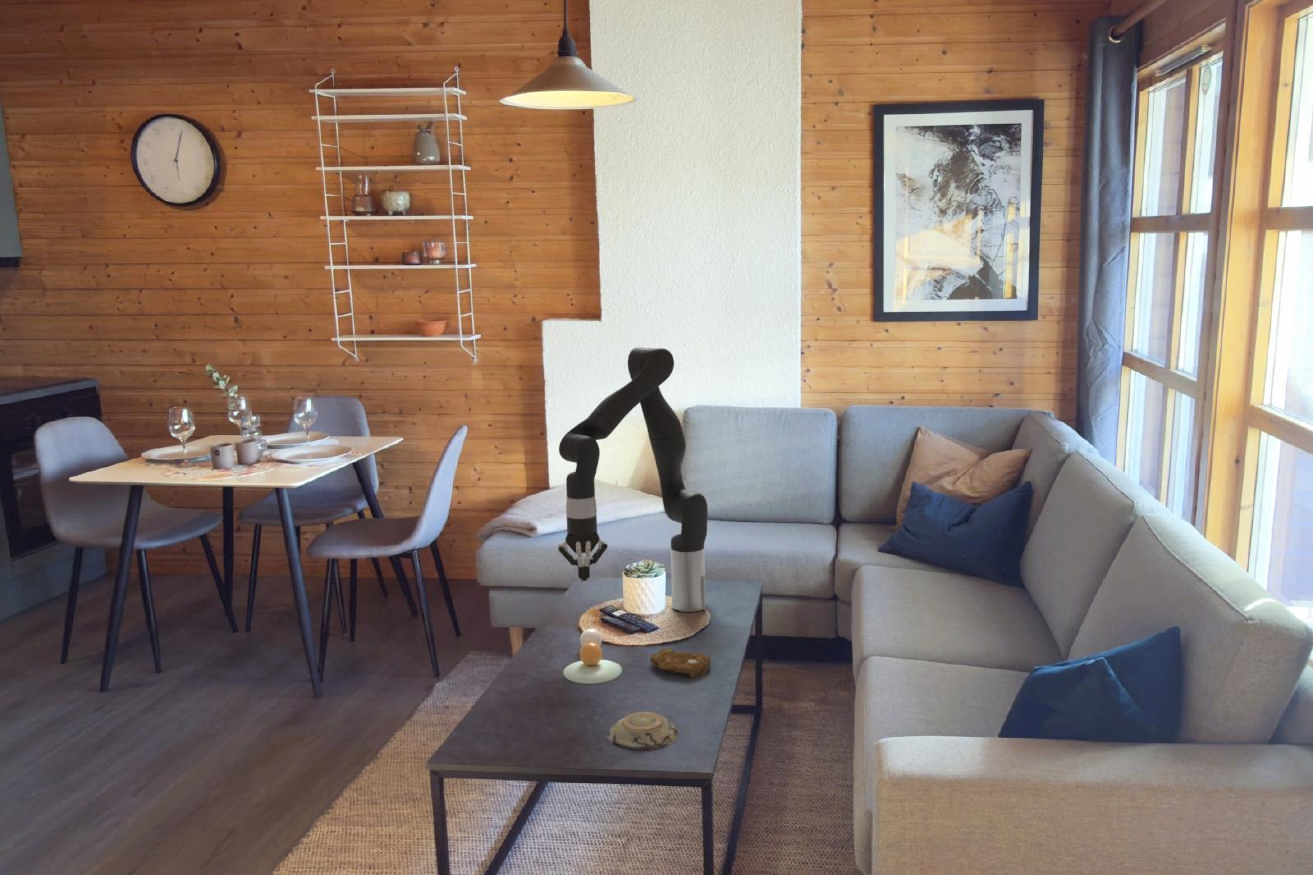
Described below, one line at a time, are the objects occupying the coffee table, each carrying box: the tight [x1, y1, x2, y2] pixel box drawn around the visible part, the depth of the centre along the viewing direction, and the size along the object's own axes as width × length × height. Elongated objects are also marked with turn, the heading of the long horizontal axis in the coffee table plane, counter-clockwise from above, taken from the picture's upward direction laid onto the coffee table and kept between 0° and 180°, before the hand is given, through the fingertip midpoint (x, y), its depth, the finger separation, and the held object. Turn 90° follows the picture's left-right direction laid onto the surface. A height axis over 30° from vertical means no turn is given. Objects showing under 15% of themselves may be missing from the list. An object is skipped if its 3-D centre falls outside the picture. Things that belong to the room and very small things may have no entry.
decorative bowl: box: [606, 711, 678, 752], centre depth 219 cm, size 15×4×15 cm
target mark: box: [562, 659, 623, 685], centre depth 251 cm, size 14×14×1 cm
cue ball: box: [579, 628, 603, 648], centre depth 264 cm, size 6×6×6 cm
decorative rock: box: [648, 648, 712, 679], centre depth 252 cm, size 11×4×15 cm
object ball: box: [579, 643, 603, 666], centre depth 255 cm, size 6×6×6 cm
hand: (584, 579), depth 266 cm, fingers closed
